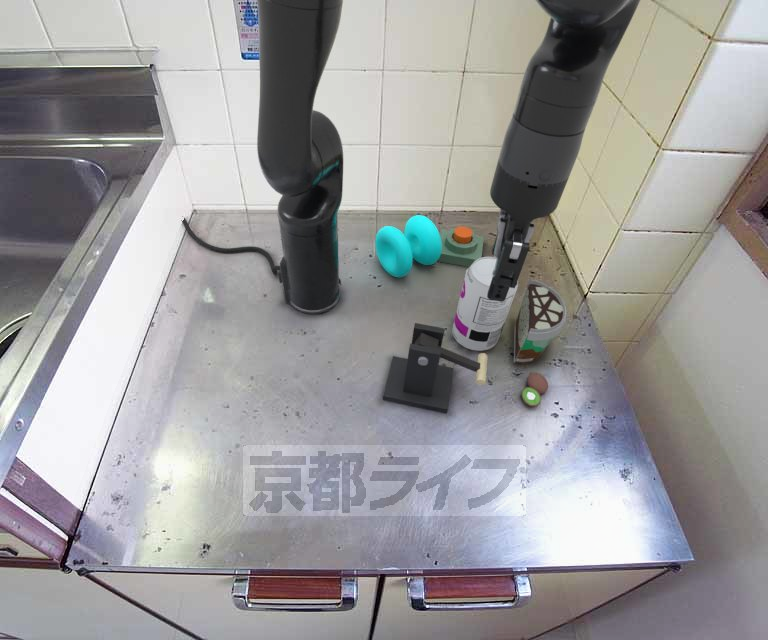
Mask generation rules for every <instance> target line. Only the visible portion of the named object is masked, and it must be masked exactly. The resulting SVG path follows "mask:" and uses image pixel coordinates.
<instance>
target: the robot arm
mask: <svg viewBox="0 0 768 640" xmlns="http://www.w3.org/2000/svg"><path fill="white" fill-rule="evenodd" d="M535 2H536V3H537V4H538V6H539V7H540V9H542V10H543V12H545V14H546V15H547V16H549V17H550V19H549V22H548V25H547V29H546V32H545V35H544V37H543V39H542V41H541V43H540V44H539V46H538V48H537V49H536V50H535V51H534V52H533V54H532V56H531V57H530V59H529V60H528V64H527V65H526V67H525V70H524V73H523V77H522V80H521V83H520V86H519V92H518V93H517V98H516V101H515V105H514V108H513V109H514V110H513V113H512V116H511V119H510V121H509V123H508V125H507V128H506V131H505V134H504V136H503V140H502V144H501V148H500V152H499V155H498V159H497V163H496V167H495V171H494V175H493V178H492V182H491V185H490V189H489V194H490V197H491V200H492V202H493V204H495V206H496V207H498V209H499V210H498V211H499V212H498V216H497V221H496V225H497V226H496V232H497V233H496V236H495V240H494V243H493V246H492V250H491V254H492V256H493V257H496V259H497V260H496V264H495V268H494V270H493V273H492V275H493V277H492V280H491V284H490V287H489V290H488V294H487V297H488V299H491V300H496V301H501V302H502V301H504V300H505V299H506V296H507V293H508V290H509V288H515V286H517V281H518V282H519V278H520V275H521V272H522V270H523V266H524V265H525V261H526V258H527V255H528V253H529V252H530V249H531V246H530V242H529V241H530V239H531V238H532V237H533V236H534V230H535V226H536V225H535V223H534V222H533V221H534V220H536V219H541V218H545V217H548V216H549V215H552V214H553V213H554V212H555V211H556V210H557V208H558V205H559V203H560V202H561V199H562V196H563V194H564V191H565V189H566V186H567V183H568V181H569V178H570V177H571V173H572V171H573V169H574V166H575V164H576V161H577V158H578V156H579V153H580V150H581V147H582V142H583V138H584V134H585V131H586V128H587V126H588V123H589V121H590V118H591V115H592V113H593V111H594V107H595V105H596V102H597V101H598V97H599V95H600V91H601V89H602V85H603V82H604V79H605V76H606V73H607V71H608V69H609V66H610V63H611V61H612V59H613V57H614V55H615V54H616V52H617V50H618V48H619V46H620V44H621V42H622V40H623V38H624V36H625V34H626V32H627V30H628V28H629V26H630V23H631V22H632V20H633V17H634V15H635V13H636V11H637V9H638V6H639V5H640V3H641V0H535ZM343 3H344V0H256V5H257V23H258V26H257V27H258V60H259V61H258V62H259V100H258V101H259V102H258V103H259V104H258V105H259V106H258V122H257V138H256V139H257V141H256V147H257V149H256V150H257V160H258V163H259V167H260V170H261V173H262V175H263V177H264V179H265V181H266V182H267V183H268V185H269V186H270V187H271V188H272V189H273V190H274V191H275V192H276V193H278V194H280V195H281V197H280V199H279V201H278V204H277V218H278V225H279V232H280V233H279V234H280V239H281V248H282V255H283V256H282V258H281V259H280V262H279V265H275V263H274V260H273V258H272V256H271V255H270V253H269V252H268V251H266V249H264V248H261V247H258V246H238V247H232V248H231V247H230V248H229V247H228V248H225V247H218V246H215V245H212V244H210V243H207V242H206V241H204V240H202V239H201V238H199V237H198V236H197V235H196V234H195V233H194V232H193V230H192V228H191V227H190V225H189V223H188V221H187V219H186V218H185V217H184V220H183V222H182V224H183V226H184V228H185V230H186V231H187V233H188V235H189V236H190V237H191V238H192V239H193V240H194V241H196V242H197V243H199V244H200V245H201V246H203V247H204V248H206V249H209V250H212V251H214V252H220V253H238V252H247V251H249V252H250V251H252V252H258V253H261V254H263V255H264V256H265V258H266V259H267V261H268V263H269V266H270V269H271V272H272V273H273V274H274V275H276V274H278V275H277V276H278V280H279V284H282V290H283V295H284V296H283V297H284V302H285V304H289V305H290V306H292V308H293V309H295V310H296V311H298V312H300V313H304V314H305V315H306V314H307V315H318V314H323V313H326V312H329V311H330V310H332V309H333V308H334V307H336V305H337V304H339V301H340V299H341V291H340V286H342V280H341V278H340V268H339V264H340V261H339V227H338V225H339V224H338V213H339V209H340V207H341V204H342V200H343V187H344V148H343V142H342V138H341V136H340V133H339V131H338V129H337V127H336V125H335V124H334V123H333V122H332V121H333V120H331V119H330V118H329V117H328V116H327V115H326V114H324V113H322V112H321V111H318V110H315V109H314V104H315V98H316V95H317V90H318V87H319V84H320V82H321V80H322V76H323V73H324V71H325V69H326V66H327V64H328V60H329V58H330V55H331V52H332V49H333V46H334V44H335V42H336V41H335V40H336V38H337V35H338V32H339V27H340V23H341V17H342V12H343V11H342V10H343Z"/></svg>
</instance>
